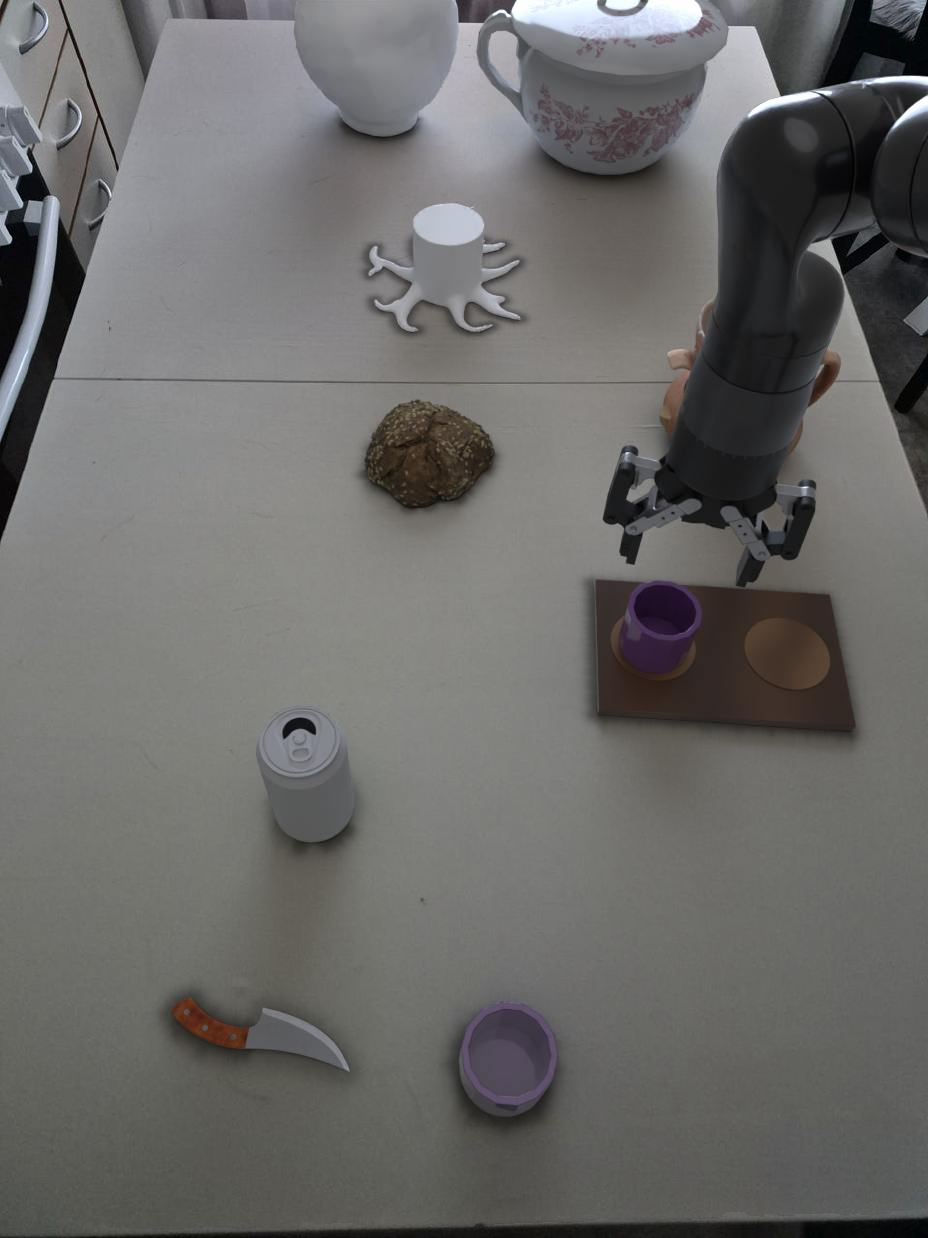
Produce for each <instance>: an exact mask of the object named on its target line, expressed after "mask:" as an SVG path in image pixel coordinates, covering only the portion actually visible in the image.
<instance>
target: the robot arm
mask: <svg viewBox="0 0 928 1238" xmlns="http://www.w3.org/2000/svg"><path fill="white" fill-rule="evenodd" d="M716 174H717V175H716V190H715V192H716V213H717V214H716V215H717V293H716V295H715V297H716V298H715V297H714V298H715V301H714V305H713V308H712V312H711V315H710V319H709V322H708V326H707V329H706V333H705V336H704V340H703V343H702V346H701V348H700V351H699V353H698V355H697V357H696V359H695V361H694V363H693V366H692V368H691V371H690V375H689V378H688V379H687V381H686V383H685V386H684V395H683V399H682V403H681V406H680V410H679V413H678V417H677V421H676V424H675V428H674V431H673V435H672V438H670V442H669V445H668V448H667V449H668V450H667V451H666V453H665V454H664V455H662V457H661V458H659V459H658V460H656V459H653V458H652V459H651V458H647V457H644V456H640V455H639V448H637V446H635V445H631V444H626V445H624V446H623V447H622V448H621V451H620V453H619V456H618V460H617V463H616V467H615V469H614V473H613V475H612V479H611V483H610V485H609V488H608V491H607V496H606V501H605V506H604V510H603V515H602V521H603V522H604V523H605V524H607V525H609V526H615V525H617V524H618V525H620V526H621V527H622V528H623V532H622V536H621V539H620V546H619V549H618V553H619V555H620V557H624V558H626V559H625V564H627V565H632V566H635V564H636V561H637V558H638V554H639V550H640V546H641V543H642V539H643V537H644V536H643V535H644V532H646V531H648V530H650V529H652V528H653V527H656V528H658V529H660V528H662V527H664V526H666V525H668V524H670V523H672V522H674V521H675V520H678V519H679V518H680V520H681V522H683V523H688V524H700V525H701V524H702V525H706V526H709V527H711V528H713V529H717V530H725V529H726V528H731V529H732V531H733V532H734V534H735V536H736V537H737V539H738V540H739V542H740V543H741V545H745V546H744V549H743V551H742V554H741V556H740V559H739V561H738V563H737V566H736V572H735V582H734V583H735V584H734V585H735V587H737V588H742V589H746V587H747V584H748V583H751V584H754V583H755V582H757V580H758V579H759V577H760V574H761V573H762V570H763V568H764V566H765V563H766V561H768V560H769V559H770V558H771V557H775V556H780V558H781V559H783V561H794V560H796V559H797V558H798V556H799V554H800V552H801V549H802V547H803V544H804V542H805V539H806V536H807V534H808V531H809V529H810V526H811V524H812V521H813V518H814V516H815V514H816V509H817V508H816V506H817V482H816V481H815V480H813V479H811V478H810V479H809V478H805V479H802V480H800V481H799V482H798V484H797V485H791V484H790V485H789V484H783V483H779V482H778V477H779V475H780V474H781V470H782V468H783V467H784V464H785V461H786V459H787V457H788V456H787V454H788V452H789V449H790V447H791V445H792V442H793V440H794V438H795V435H796V433H797V430H798V428H799V426H800V423H801V421H802V419H803V420H804V416H805V414H806V411H807V410H808V408H807V407H808V404H809V401H810V398H811V394H812V390H813V385H814V381H815V379H816V377H817V376H818V373H819V370H820V368H821V366H822V365H821V363H822V360H823V358H824V355H825V353H826V351H827V348H829V346H830V343H831V341H832V338H833V336H834V333H835V331H836V328H837V326H838V323H839V321H840V318H841V316H842V312H843V309H844V303H845V298H846V297H845V296H846V293H845V285H844V281H843V278H842V276H841V273H840V272H839V271H838V269H837V268H836V267H835V266H834V265H833V264H832V263H831V262H830V261H828V260H827V259H826V258H824V257H822V256H821V255H818V254H817V253H815V252H813V251H809V250H808V249H809V247H811V245H812V244H816V243H821V242H824V241H829V240H831V239H835V238H839V237H843V236H847V235H851V234H854V233H860V232H864V231H868V230H875V229H879V230H880V231H881V234H883V236H884V237H885V238H886V239H887V240H888V241H889V242H891V243H892V244H893V245H894V246H896V247H898V248H899V249H901V250H903V251H905V252H907V253H909V254H913V255H915V256H918V257H921V258H925V259H928V76H927V75H888V76H877V77H876V76H875V77H870V78H863V79H857V80H854V81H848V82H845V83H840V84H835V85H830V86H825V87H821V88H820V87H819V88H815V89H810V90H805V91H800V92H795V93H790V94H785V95H781V96H777V97H773V98H770V99H768V100H765V101H764V102H761V103H759V104H758V105H756V106H755V107H754V108H753V109H750V111H748V113H746V115H745V116H744V117H743V118H742V119H741V120H740V121H739V123H738V124H737V126H736V127H735V128H734V130H733V131H732V133H731V135H730V136H729V138H728V139H727V142H726V144H725V146H724V148H723V151H722V153H721V157H720V159H719V163H718V167H717V173H716ZM786 456H787V457H786ZM651 479H652V480H653V481H654V485H652V487H650V490H649V491H648V492H646V494H643V495H641V496H640V497H638V498H636V499H634V500H633V501H630V500H627V499H628V495H629V493H630V489H631V490H634V491H635V490H637V488H638V487H639V486H641V485H642V484H643V483H644V481H646V480H651ZM775 503H777V504H778V505H780V506H781V512H782V513H783V514H784V515H785V517H786V518H785V520H784V523H783V526H782V529H776V530H775V529H772V528H771V525H770V523H769V522H768V521H767V519H766V517H765V515H764V511H766V510H768V509H769V508H771V507H773V505H774V504H775Z"/></svg>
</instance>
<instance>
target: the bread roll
mask: <svg viewBox="0 0 928 1238" xmlns="http://www.w3.org/2000/svg"><path fill="white" fill-rule="evenodd" d="M495 452H496V451H495V449H494V443H493V441H492V439H491V437H490V434H489V433H487V432H486V431H485V429H483V426H482V425H481V424H478V423H477V422H476V421H473V420H472V419H471V418H468V417H467V416H465V415H462V414H461V413H460V412H459V411H458V410H454V409H453V408H452V409H451V408H450V407H448V405H444V404H438V403H436V404H433V403H432V402H431V401H430V400H427V401H423V400H422V401H421V400H420V399H418V398H416V399H415V400H413V399H412V400H410V401H409V402H401V403H397V406H395V407H394V408H393V409H391V410H390V411H389V412H388V413H386V414H385V415H384V418H382V419H381V422H380V423H379V424H378V426H377V428H376V430H375V431H374V432H372V433H371V442H370V443H369V445H368V448H367V450H366V452H365V458H364V466H365V472H366V474H367V478H368V480H369V481H371V482H372V483H374V484H375V485H377V486H380V487H382V488H384V489H386V490H387V491H388V492H390V493H391V494H392V495H393V496H394V498H395V499H396V500H397V501H398V502H400V504H403V505H405V506H406V507H408V508H415V507H426V506H431V505H432V504H434V503H435V502H436V501H437V500H445V501H450V500H451V501H452V500H454V499H456V498H459V497H460V496H461V495H462V494H463V493H465V492H466V491H468V490H471V487H472V486H473V485H474V484H475V481H476V479H477V477H478V476H479V475H480V474H481V473H482V472H484V471H486V470H489V468H490V467H491V466H492V465H493V464H492V459H493V458H494V456H495Z"/></svg>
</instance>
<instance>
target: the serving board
mask: <svg viewBox="0 0 928 1238" xmlns="http://www.w3.org/2000/svg"><path fill="white" fill-rule="evenodd" d="M648 582H649V581H648ZM648 582H647V581H634V580H633V581H632V580H619V579H618V580H617V579H605V578H604V579H601V578H595V580H594V583H593V601H594V602H593V603H594V604H593V605H594V635H595V637H594V638H595V667H596V668H595V674H596V675H595V676H596V707H597V709H596V712H597V715H598V716H612V717H614V716H615V717H626V718H627V717H629V718H642V719H643V718H644V719H658V720H672V721H673V720H674V721H690V722H703V723H716V724H717V723H718V724H734V725H747V726H749V725H750V726H762V727H763V726H764V727H765V726H766V727H777V728H778V727H780V728H795V729H809V730H824V731H836V732H837V731H839V732H853V730H854V729H855V728H856V720H855V714H854V709H853V705H852V699H851V695H850V690H849V684H848V679H847V674H846V670H845V664H844V659H843V654H842V649H841V644H840V639H839V634H838V630H837V625H836V619H835V613H834V608H833V604H832V599H831V595H830V594H829V593H815V592H814V593H813V592H798V591H783V590H769V589H768V590H767V589H754V588H741V587H725V586H722V587H721V586H711V585H710V586H708V585H695V584H679V583H677V584H678V585H681V586H683V587H685V588H687V589H688V590H689V591H690V592H691V593H692V594H693V595H694V596H695V597H696V598H697V600H698V602H699V605H700V608H701V611H702V618H701V622H700V626H699V629H698V631H697V634H696V636H695V638H694V641H693V643H692V645H691V648H690V650H689V652H688V655H687V657H686V658H685V660H684V661H683V663H682V664H681V665H680V666H679V667H677V668H676V669H674V670H672V671H670V672H666V673H660V674H654V673H648V672H644V671H641V670H639V669H637V668H635V667H634V666H632V665H631V664H630V663H629V662H628V661H627V660H626V659H625V658H624V657H623V655H622V653H621V651H620V649H619V645H618V636H619V633H620V629H621V625H622V622H623V619H624V615H625V612H626V609H627V606H628V602H629V599H630V596H631V593H632V592H634V591H635V590H636V589H637V588H638V587H639V586H640V585H641V584H644V583H648Z"/></svg>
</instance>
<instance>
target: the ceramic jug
mask: <svg viewBox="0 0 928 1238" xmlns="http://www.w3.org/2000/svg"><path fill="white" fill-rule="evenodd" d="M715 298H716V296H715V297H713V298H711V299H709V300H708V301H707V302H706V303H705V304H704V305H703V307H702V308H701V310H700V312H699V314H698V317H697V322H696V326H695V327H696V328H695V344H694V347H693V349H691V350H689V349H685V348H678V349H673V350H670V351H669V352H667V353H666V356H667V361H668V364H669V367H670V368H671V370H672V371H676V370H681V369H683V370H685V371H682V373H681V374H679V375H678V376H677V377H676V378H675V379H674V380H673V381H672V382H671V383H670V385H669V386H668V388H667V390H666V392H665V394H664V397H663V402H662V406H661V407H662V408H661V411H660V415H659V422H660V423H661V425H662V427H663V428H664V431H665V432H666V433H667V435H668V437H669V438H670V439H671V438H672V435H673V431H674V428H675V424H676V421H677V417H678V413H679V410H680V406H681V403H682V399H683V395H684V386H685V383H686V381H687V379H688V378H689V375H690V371H691V368H692V366H693V363H694V361H695V359H696V357H697V355H698V353H699V351H700V348H701V346H702V343H703V340H704V336H705V333H706V329H707V326H708V322H709V319H710V315H711V312H712V308H713V305H714V301H715ZM822 365H823V367H822V368H821V370H820V372H818V374H817V375H816V378H815V381H814V385H813V390H812V394H811V398H810V401H809V404H808V407H807V409H809V408H810V407H811V406H813V405H814V404H815V403H816V402H817V401H819V400H820V398H822V397H823V396H824V395H825V394H826V393H827V392H828V390H829V389H830V388H831V387H832V386H833V384H834V383H835V381H836V380H837V379H838V376H839V374H840V370H841V366H842V359H841V356H840V354H839V353H838V351H835V350H834V349H832V348H829V347H828V348H827V351H826V353H825V355H824V358H823V360H822V363H821V365H820V366H822ZM803 430H804V418H803V419H802V421H801V423H800V426H799V428H798V430H797V433H796V435H795V438H794V440H793V442H792V445H791V447H790V449H789V452H788V454H787V456H786V458H788V456H789V455H790V454H792V452H793V451H794V450H795V448H796V447H797V445H798V444H799V442H800V440H801V438H802V435H803Z"/></svg>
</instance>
